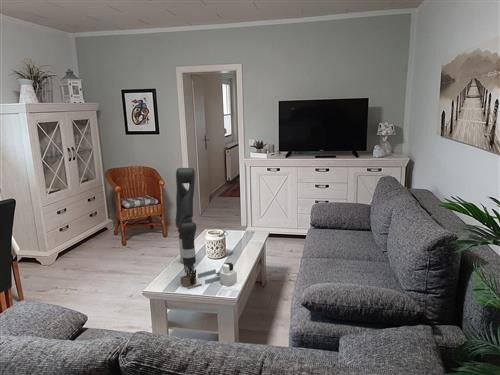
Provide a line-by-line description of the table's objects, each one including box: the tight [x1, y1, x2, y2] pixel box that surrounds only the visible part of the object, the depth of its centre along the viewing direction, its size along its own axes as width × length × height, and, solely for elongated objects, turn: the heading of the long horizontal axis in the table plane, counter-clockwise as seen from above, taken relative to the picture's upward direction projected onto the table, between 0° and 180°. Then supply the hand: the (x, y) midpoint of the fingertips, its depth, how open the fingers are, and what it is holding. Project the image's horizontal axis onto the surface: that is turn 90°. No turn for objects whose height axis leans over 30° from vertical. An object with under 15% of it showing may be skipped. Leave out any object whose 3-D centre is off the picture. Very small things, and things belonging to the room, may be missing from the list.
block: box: [179, 274, 197, 287], centre depth 225 cm, size 4×8×4 cm, turn 123°
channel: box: [197, 268, 220, 285], centre depth 233 cm, size 12×12×2 cm
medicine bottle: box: [219, 262, 238, 287], centre depth 225 cm, size 7×7×12 cm
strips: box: [186, 283, 203, 290], centre depth 227 cm, size 11×9×1 cm
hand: (190, 281), depth 227 cm, fingers closed on block, 4 cm apart
